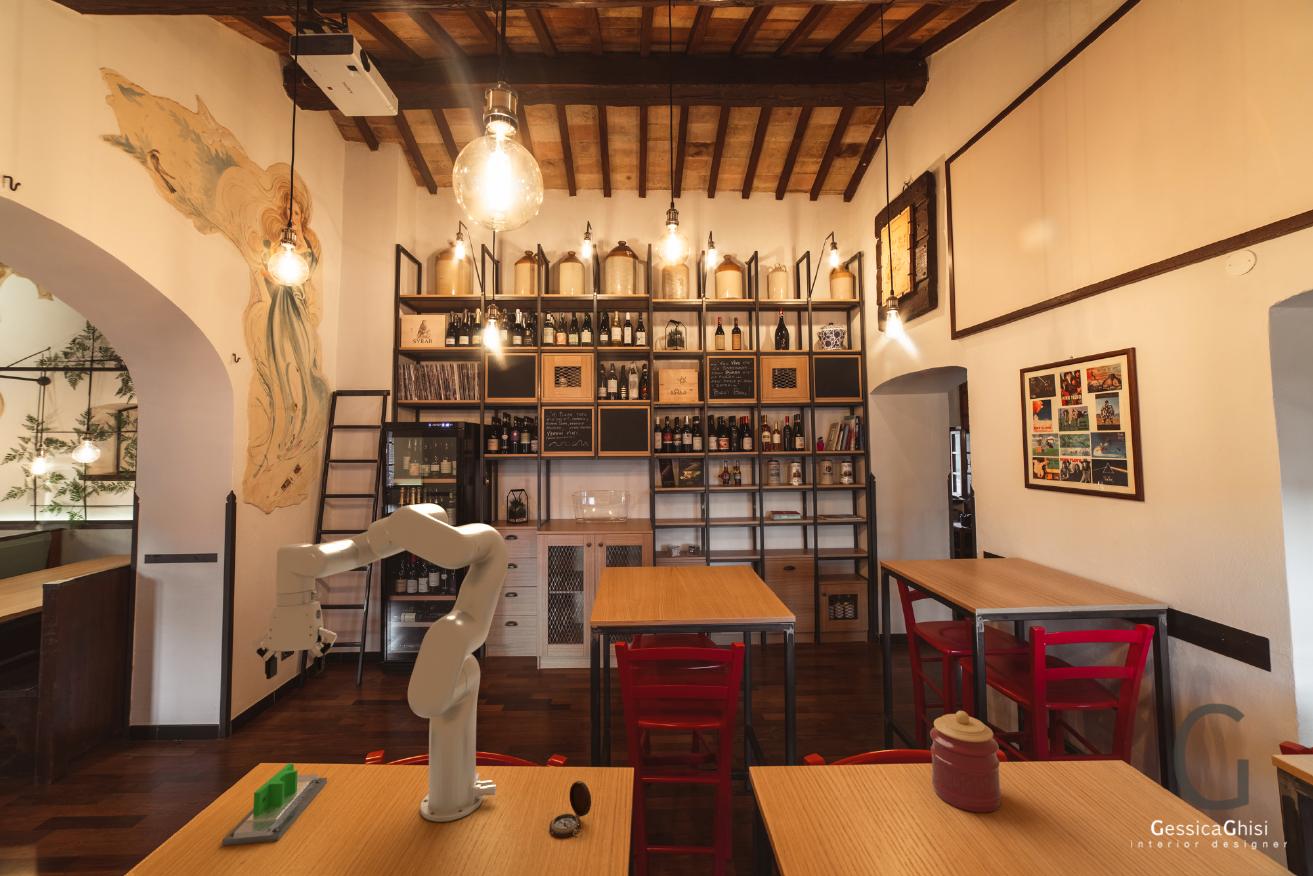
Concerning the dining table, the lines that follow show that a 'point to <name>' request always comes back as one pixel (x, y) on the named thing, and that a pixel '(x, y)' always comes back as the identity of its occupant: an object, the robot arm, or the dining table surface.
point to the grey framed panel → (276, 815)
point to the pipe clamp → (276, 789)
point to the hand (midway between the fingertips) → (295, 675)
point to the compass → (580, 806)
